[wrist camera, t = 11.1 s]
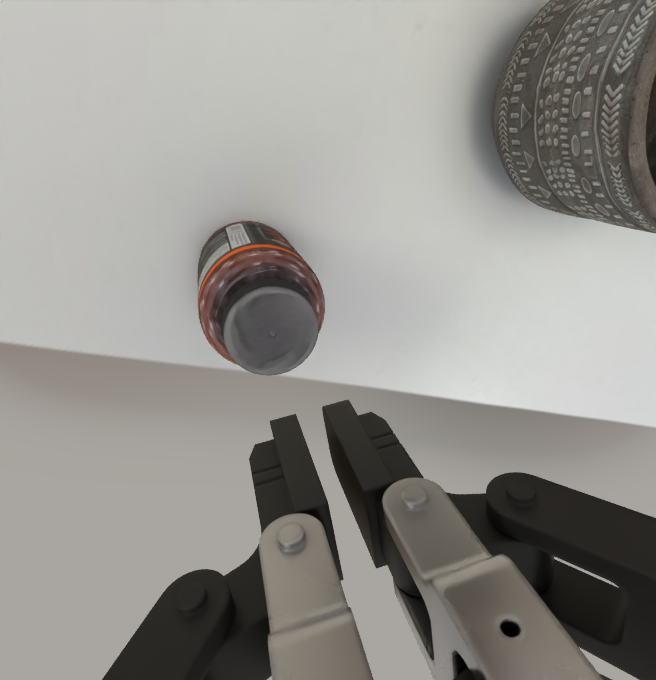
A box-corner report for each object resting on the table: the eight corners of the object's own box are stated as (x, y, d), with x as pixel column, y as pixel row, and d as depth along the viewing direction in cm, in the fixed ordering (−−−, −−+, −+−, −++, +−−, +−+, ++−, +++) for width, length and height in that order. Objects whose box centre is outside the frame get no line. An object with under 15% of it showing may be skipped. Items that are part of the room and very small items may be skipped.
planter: (549, 238, 35) (723, 291, 23) (426, 136, 30) (570, 139, 18) (665, 80, 32) (923, 53, 21) (552, -61, 27) (808, -196, 16)
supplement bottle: (313, 267, 31) (370, 333, 21) (246, 330, 32) (271, 423, 22) (247, 196, 29) (276, 232, 19) (175, 266, 29) (166, 338, 19)
